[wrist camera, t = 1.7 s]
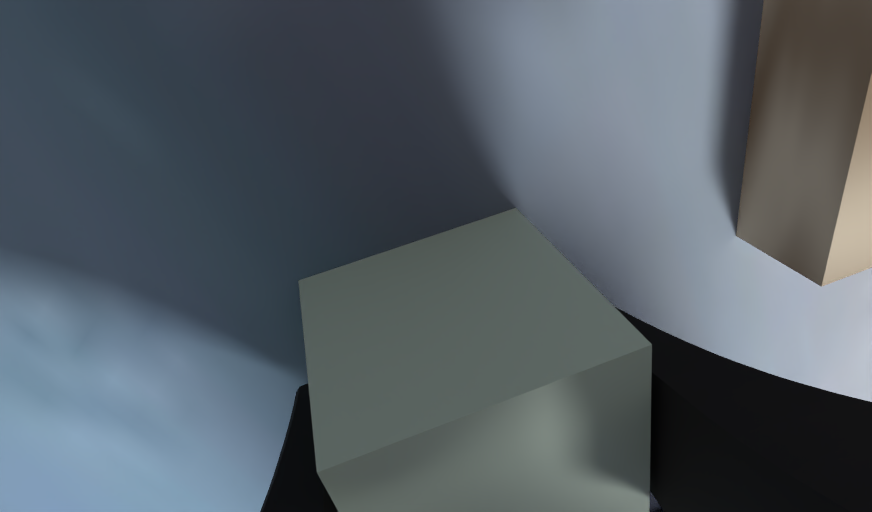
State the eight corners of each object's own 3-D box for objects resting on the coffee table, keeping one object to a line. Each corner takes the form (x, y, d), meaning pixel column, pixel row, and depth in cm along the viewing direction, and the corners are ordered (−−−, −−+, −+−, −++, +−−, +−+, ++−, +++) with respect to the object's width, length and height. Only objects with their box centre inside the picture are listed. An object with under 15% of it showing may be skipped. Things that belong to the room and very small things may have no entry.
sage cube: (538, 364, 14) (649, 531, 10) (364, 429, 14) (406, 635, 10) (514, 206, 12) (651, 344, 8) (298, 279, 11) (316, 472, 7)
